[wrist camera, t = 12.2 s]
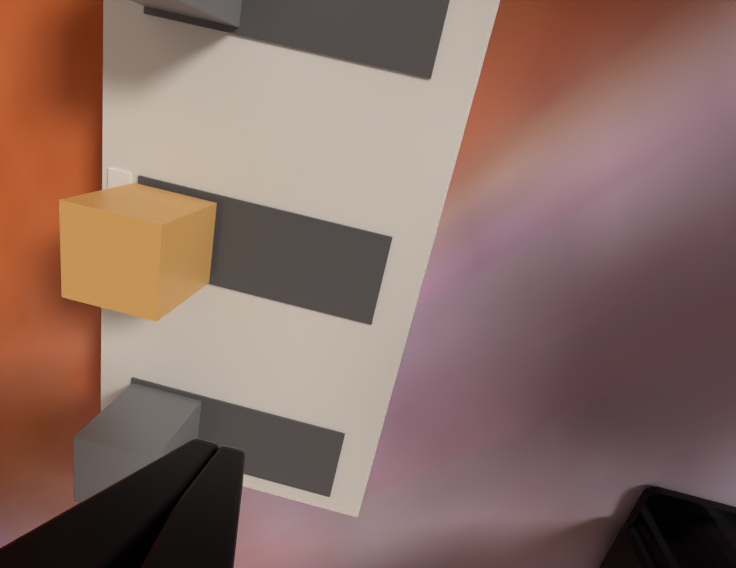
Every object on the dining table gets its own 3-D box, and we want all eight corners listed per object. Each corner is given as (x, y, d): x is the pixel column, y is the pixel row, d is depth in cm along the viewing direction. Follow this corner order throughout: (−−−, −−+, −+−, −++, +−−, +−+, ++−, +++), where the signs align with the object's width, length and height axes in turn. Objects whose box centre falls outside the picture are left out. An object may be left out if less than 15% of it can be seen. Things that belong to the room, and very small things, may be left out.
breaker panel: (509, -51, 15) (552, -144, 9) (363, 484, 22) (342, 596, 17) (144, -128, 15) (-8, -257, 10) (127, 420, 23) (37, 510, 18)
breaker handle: (216, 202, 16) (161, 225, 13) (209, 282, 17) (156, 321, 14) (134, 182, 16) (58, 199, 13) (131, 262, 17) (61, 297, 14)
